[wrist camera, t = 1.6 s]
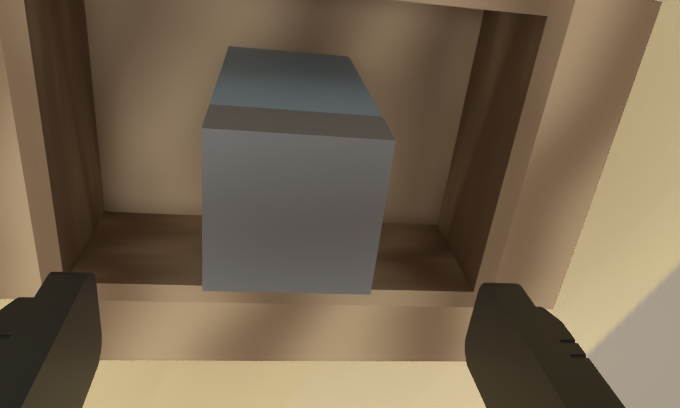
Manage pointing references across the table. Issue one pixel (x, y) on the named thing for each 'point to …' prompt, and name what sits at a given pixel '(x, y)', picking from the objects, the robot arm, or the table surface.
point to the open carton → (405, 178)
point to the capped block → (292, 175)
